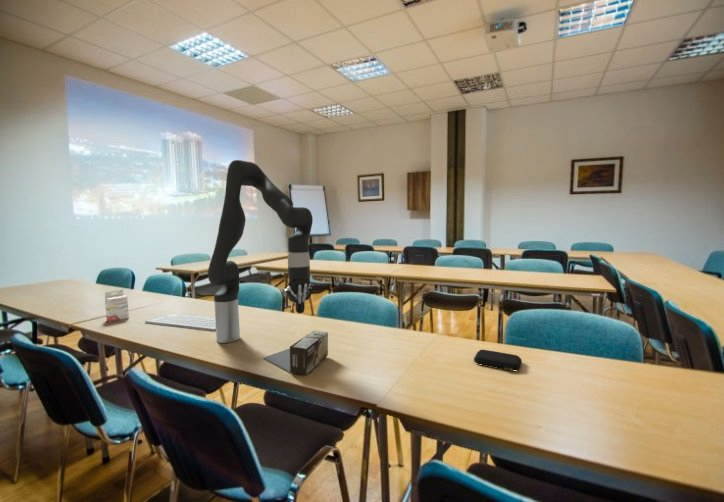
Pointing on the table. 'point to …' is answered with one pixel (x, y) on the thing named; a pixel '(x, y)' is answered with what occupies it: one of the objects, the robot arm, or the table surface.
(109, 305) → the ink cartridge box
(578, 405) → the table surface
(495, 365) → the carrying case or bag
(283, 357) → the dark rubber mat
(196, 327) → the computer keyboard
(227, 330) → the robot arm
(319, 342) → the coffee box
